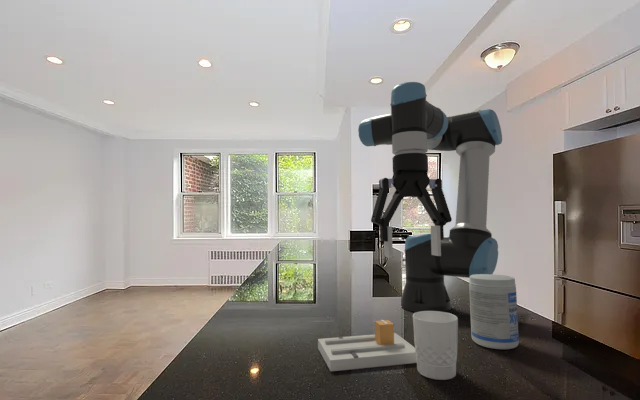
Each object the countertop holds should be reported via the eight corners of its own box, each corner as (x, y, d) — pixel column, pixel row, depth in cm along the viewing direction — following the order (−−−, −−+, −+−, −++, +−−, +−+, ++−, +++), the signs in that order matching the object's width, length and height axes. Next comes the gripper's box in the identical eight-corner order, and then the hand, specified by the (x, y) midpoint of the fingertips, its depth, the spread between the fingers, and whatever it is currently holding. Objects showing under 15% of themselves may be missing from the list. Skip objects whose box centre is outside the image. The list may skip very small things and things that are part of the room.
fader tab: (388, 339, 75) (387, 319, 75) (394, 343, 72) (393, 323, 72) (375, 340, 74) (374, 320, 74) (380, 345, 71) (379, 324, 72)
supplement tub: (523, 353, 72) (520, 281, 73) (473, 348, 75) (471, 279, 76) (513, 338, 81) (510, 274, 82) (469, 334, 84) (466, 272, 85)
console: (395, 341, 80) (395, 330, 80) (420, 362, 68) (420, 348, 68) (318, 348, 76) (317, 336, 76) (330, 371, 64) (330, 356, 65)
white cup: (408, 364, 67) (406, 311, 68) (447, 362, 68) (445, 310, 69) (423, 383, 59) (421, 323, 60) (468, 380, 60) (466, 321, 61)
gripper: (447, 158, 83) (451, 253, 81) (354, 156, 78) (356, 256, 77) (467, 152, 75) (471, 256, 74) (365, 149, 71) (367, 259, 70)
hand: (412, 256), depth 75 cm, fingers open, 10 cm apart
